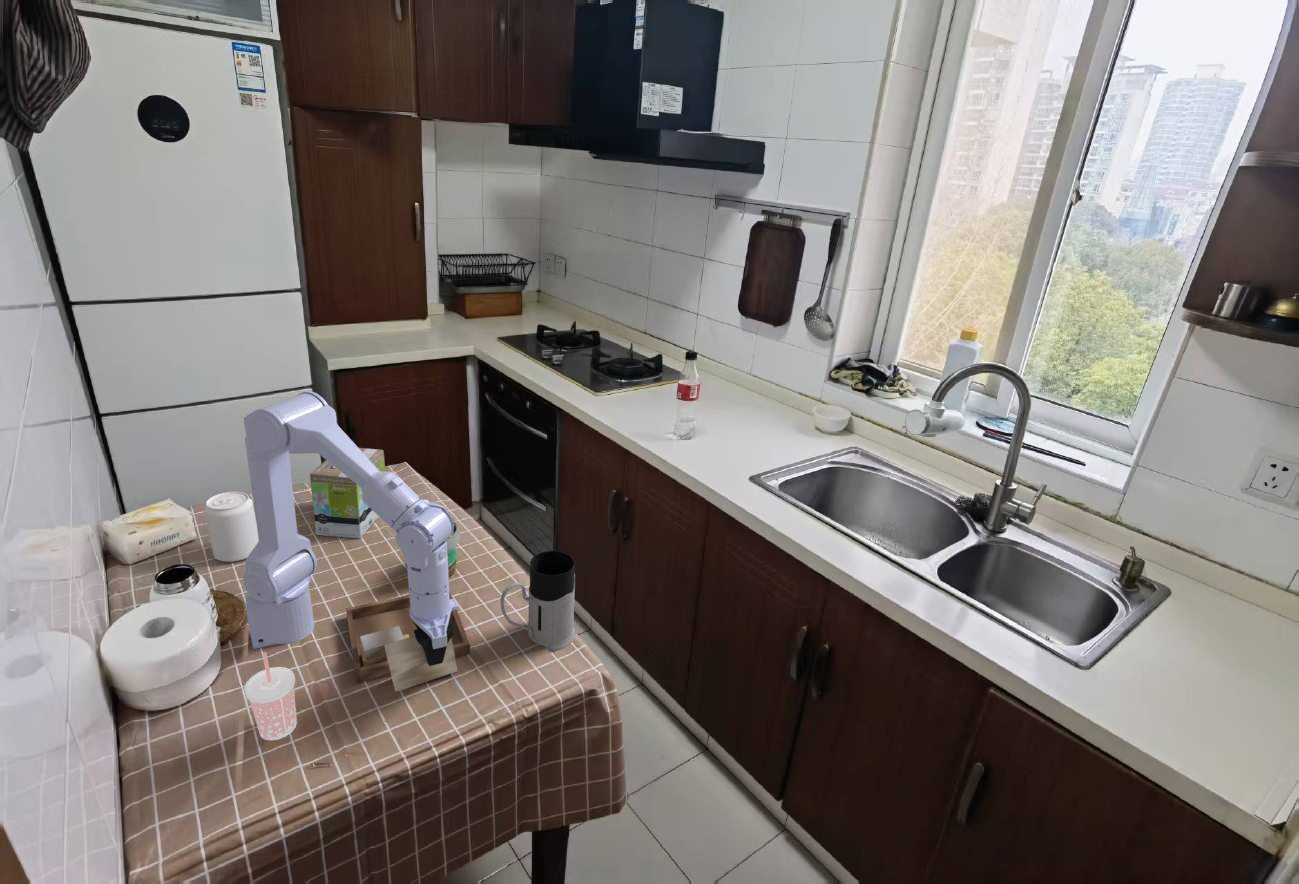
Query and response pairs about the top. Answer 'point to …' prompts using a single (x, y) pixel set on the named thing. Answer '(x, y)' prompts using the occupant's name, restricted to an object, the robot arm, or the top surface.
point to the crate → (390, 616)
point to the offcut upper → (379, 642)
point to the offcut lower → (378, 659)
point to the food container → (452, 549)
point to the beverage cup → (273, 701)
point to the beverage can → (231, 525)
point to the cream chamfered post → (415, 663)
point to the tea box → (342, 500)
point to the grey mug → (549, 600)
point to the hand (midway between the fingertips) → (433, 655)
